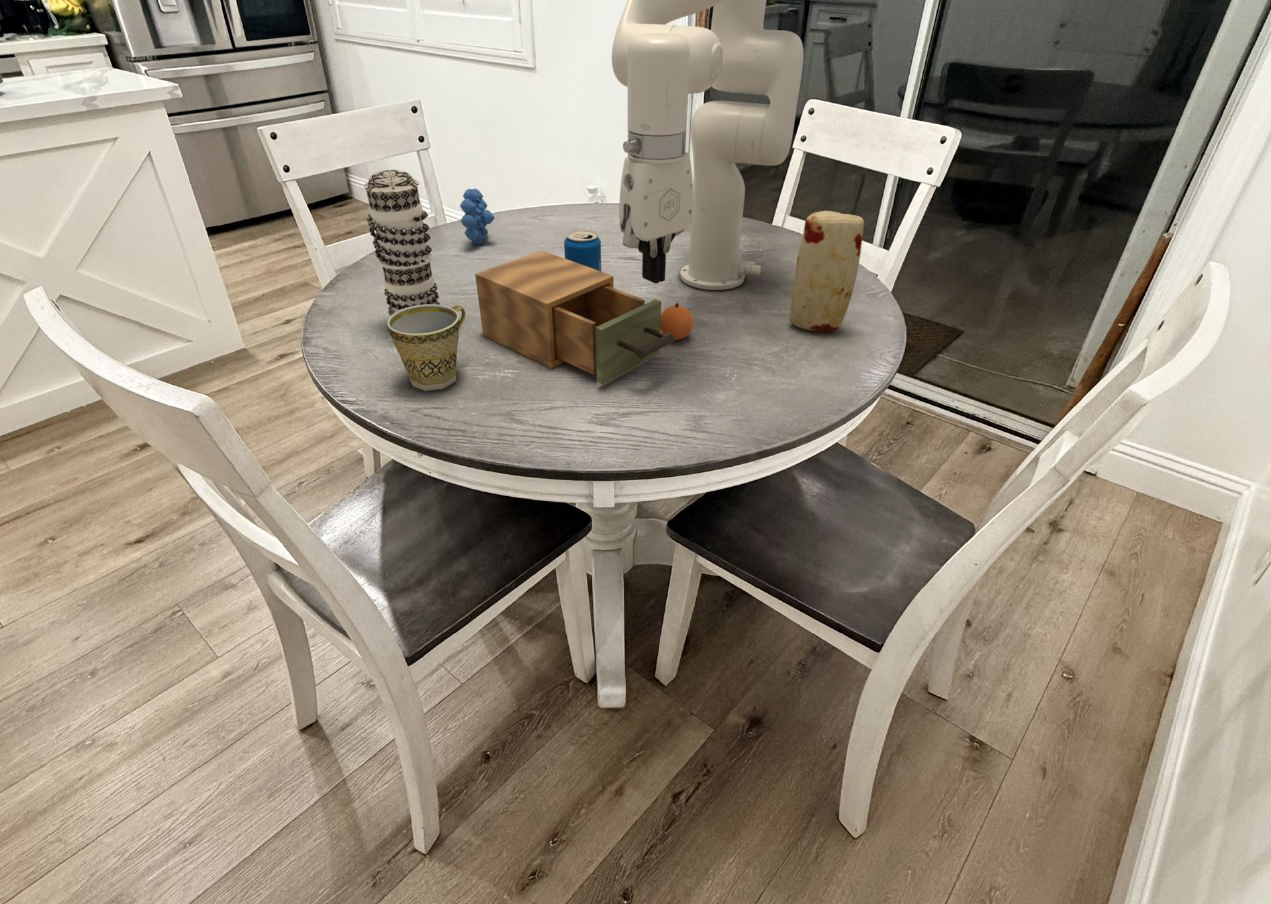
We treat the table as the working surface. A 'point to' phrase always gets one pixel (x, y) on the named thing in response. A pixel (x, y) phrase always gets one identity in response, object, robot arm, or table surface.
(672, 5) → the robot arm
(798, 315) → the food model
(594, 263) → the beverage can
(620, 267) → the table surface
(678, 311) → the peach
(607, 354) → the drawer
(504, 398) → the table surface
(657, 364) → the table surface
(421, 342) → the ceramic cup
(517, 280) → the cabinet
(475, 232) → the grapes
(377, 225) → the decorative candle
